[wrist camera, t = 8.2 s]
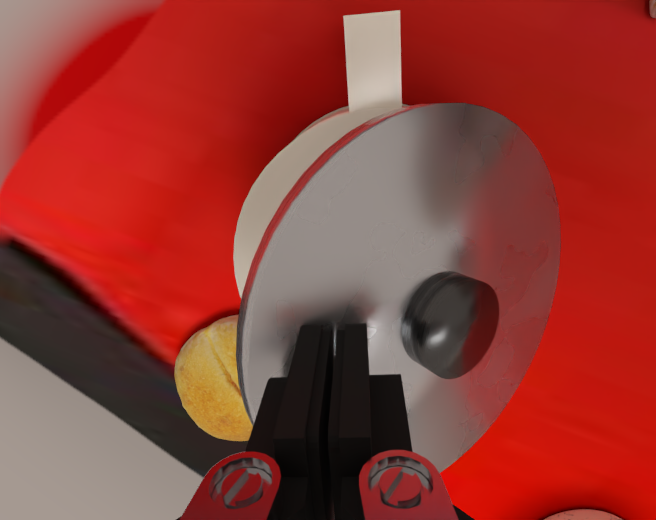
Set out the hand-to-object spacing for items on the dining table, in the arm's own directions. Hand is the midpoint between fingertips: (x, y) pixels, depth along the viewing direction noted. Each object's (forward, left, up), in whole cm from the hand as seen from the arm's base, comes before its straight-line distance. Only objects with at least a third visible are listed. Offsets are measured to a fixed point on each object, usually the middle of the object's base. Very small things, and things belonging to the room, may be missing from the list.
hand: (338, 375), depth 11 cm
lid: (-2, 0, -3) cm, 4 cm away
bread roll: (+7, +10, -16) cm, 20 cm away
